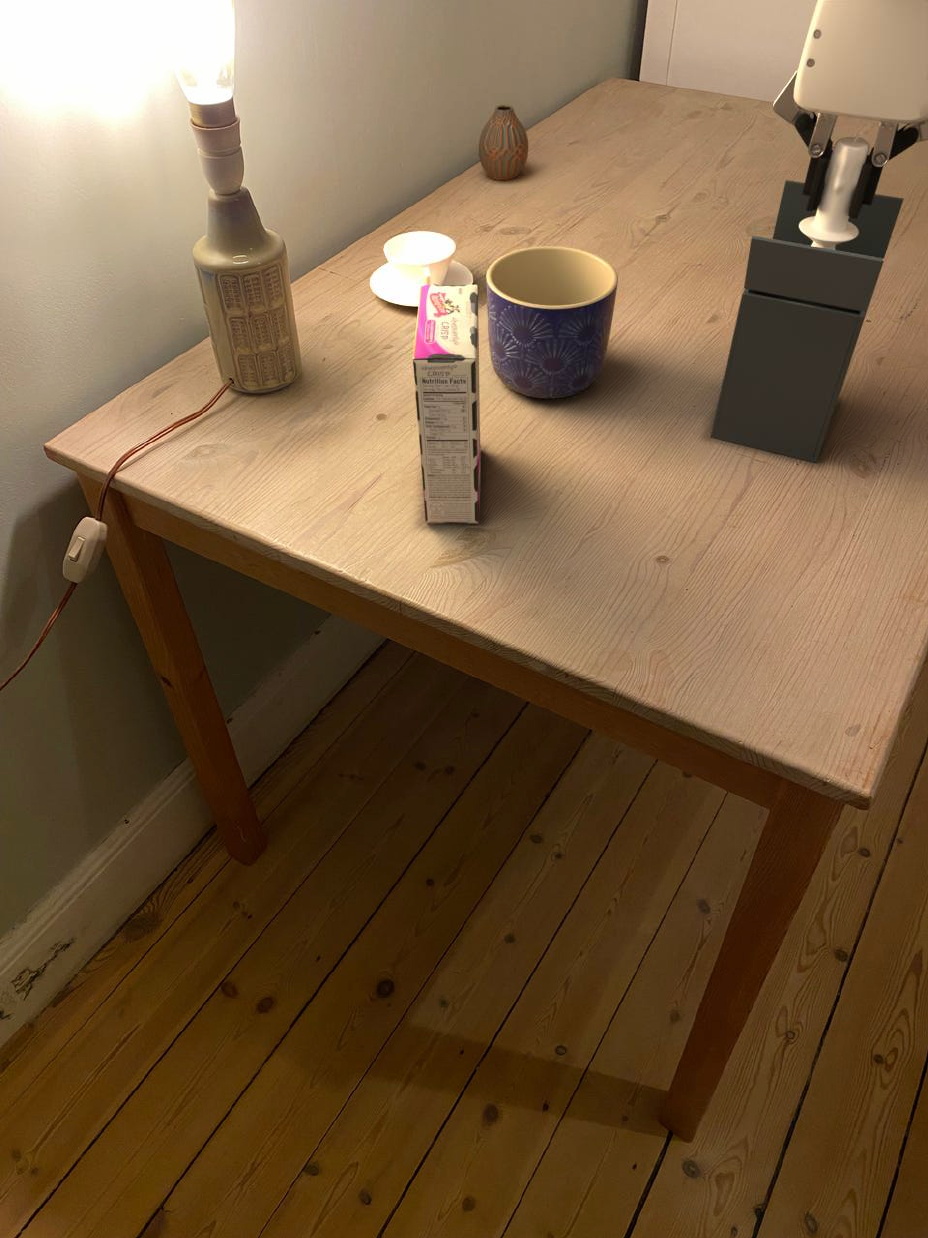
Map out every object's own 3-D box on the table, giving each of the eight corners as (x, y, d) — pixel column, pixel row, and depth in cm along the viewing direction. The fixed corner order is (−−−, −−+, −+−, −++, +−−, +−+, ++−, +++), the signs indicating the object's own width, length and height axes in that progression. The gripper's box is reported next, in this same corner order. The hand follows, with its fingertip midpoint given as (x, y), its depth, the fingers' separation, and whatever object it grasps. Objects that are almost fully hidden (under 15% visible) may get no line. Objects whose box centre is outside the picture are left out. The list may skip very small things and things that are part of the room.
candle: (857, 285, 78) (907, 135, 69) (819, 305, 75) (865, 152, 67) (805, 263, 81) (847, 115, 72) (767, 281, 78) (805, 131, 69)
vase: (491, 162, 133) (492, 95, 126) (535, 169, 130) (537, 102, 124) (470, 179, 129) (469, 111, 122) (515, 187, 126) (516, 119, 120)
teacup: (390, 325, 101) (386, 279, 97) (357, 278, 109) (353, 234, 105) (489, 304, 104) (489, 259, 100) (451, 259, 112) (450, 216, 108)
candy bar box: (427, 448, 86) (418, 282, 74) (481, 448, 86) (480, 281, 74) (421, 526, 78) (410, 355, 66) (479, 526, 78) (479, 355, 66)
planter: (523, 424, 88) (527, 320, 80) (465, 363, 96) (463, 262, 88) (630, 390, 92) (644, 287, 84) (566, 334, 99) (573, 234, 91)
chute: (816, 463, 83) (885, 253, 69) (710, 437, 86) (755, 231, 72) (838, 398, 90) (905, 196, 76) (739, 376, 93) (786, 177, 79)
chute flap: (866, 309, 72) (865, 311, 72) (744, 285, 75) (743, 288, 75) (882, 258, 68) (881, 261, 68) (752, 235, 71) (751, 238, 70)
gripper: (1049, -78, 60) (945, 207, 73) (799, -94, 65) (744, 176, 78) (1045, -54, 55) (935, 245, 69) (776, -73, 60) (722, 210, 73)
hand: (834, 206), depth 73 cm, fingers closed on candle, 2 cm apart
